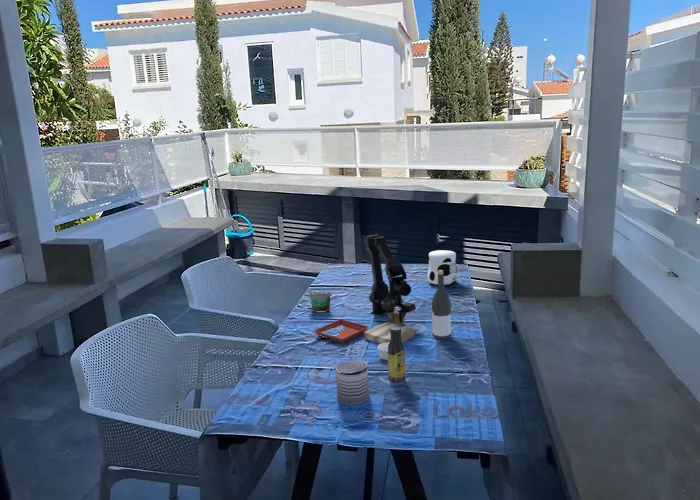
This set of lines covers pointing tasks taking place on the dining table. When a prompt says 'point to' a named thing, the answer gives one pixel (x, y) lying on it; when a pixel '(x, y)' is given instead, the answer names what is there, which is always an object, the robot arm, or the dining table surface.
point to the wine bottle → (441, 311)
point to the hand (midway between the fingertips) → (396, 322)
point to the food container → (320, 301)
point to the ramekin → (383, 350)
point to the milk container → (442, 267)
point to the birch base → (387, 333)
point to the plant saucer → (346, 334)
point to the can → (352, 382)
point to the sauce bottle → (396, 356)
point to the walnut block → (395, 317)
